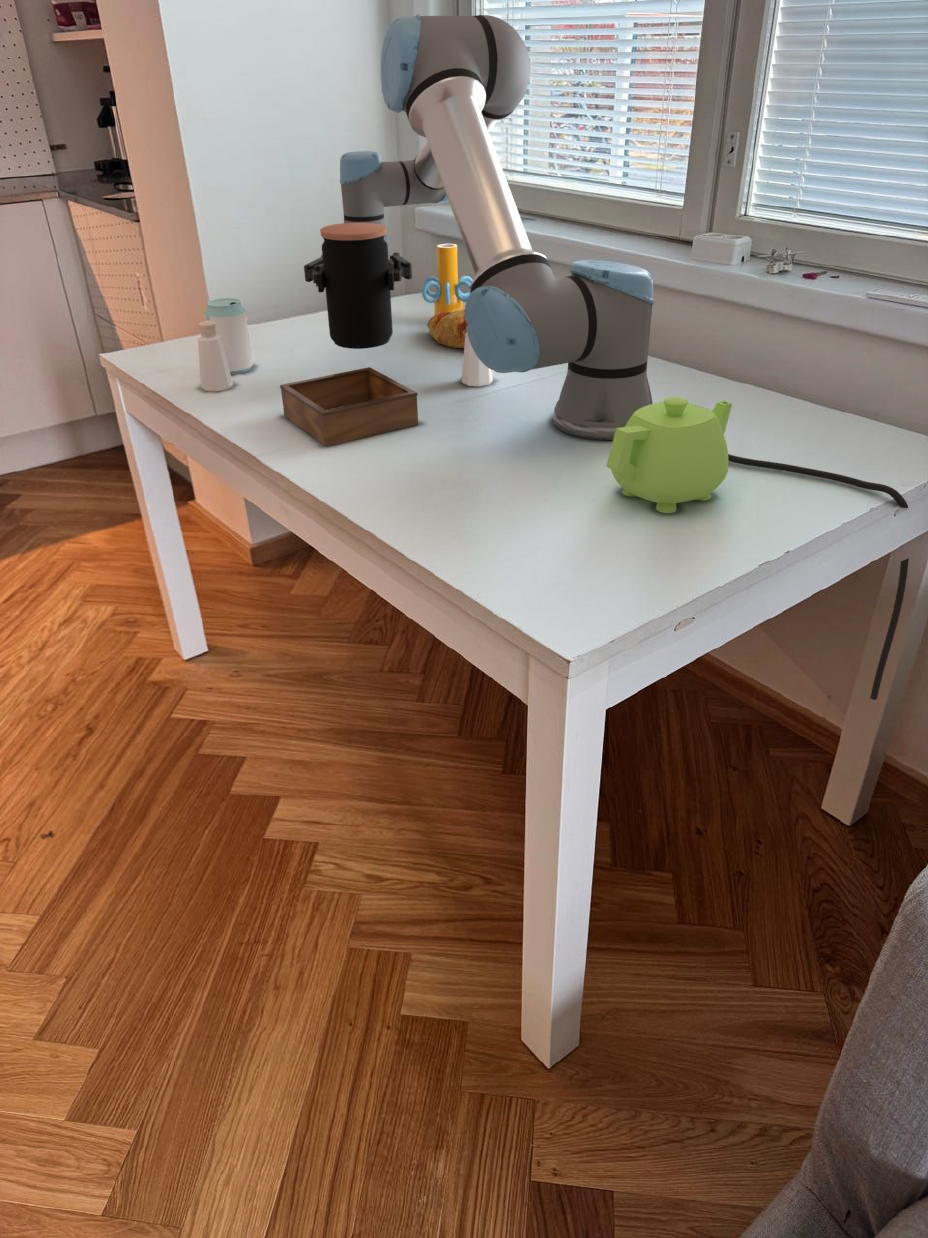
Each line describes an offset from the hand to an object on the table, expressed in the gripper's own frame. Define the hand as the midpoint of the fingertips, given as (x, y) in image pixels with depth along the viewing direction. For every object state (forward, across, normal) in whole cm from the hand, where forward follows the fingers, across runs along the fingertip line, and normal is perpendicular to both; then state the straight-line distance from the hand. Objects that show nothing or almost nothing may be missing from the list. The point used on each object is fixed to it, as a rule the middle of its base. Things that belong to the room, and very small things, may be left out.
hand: (355, 282), depth 151 cm
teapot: (+47, -42, -17) cm, 65 cm away
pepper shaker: (-1, -20, -18) cm, 26 cm away
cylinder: (-42, -16, -18) cm, 48 cm away
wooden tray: (+16, +1, -17) cm, 23 cm away
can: (-13, +24, -18) cm, 33 cm away
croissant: (-26, -18, -18) cm, 36 cm away
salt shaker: (-3, +25, -18) cm, 31 cm away
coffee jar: (-4, 0, -11) cm, 11 cm away
